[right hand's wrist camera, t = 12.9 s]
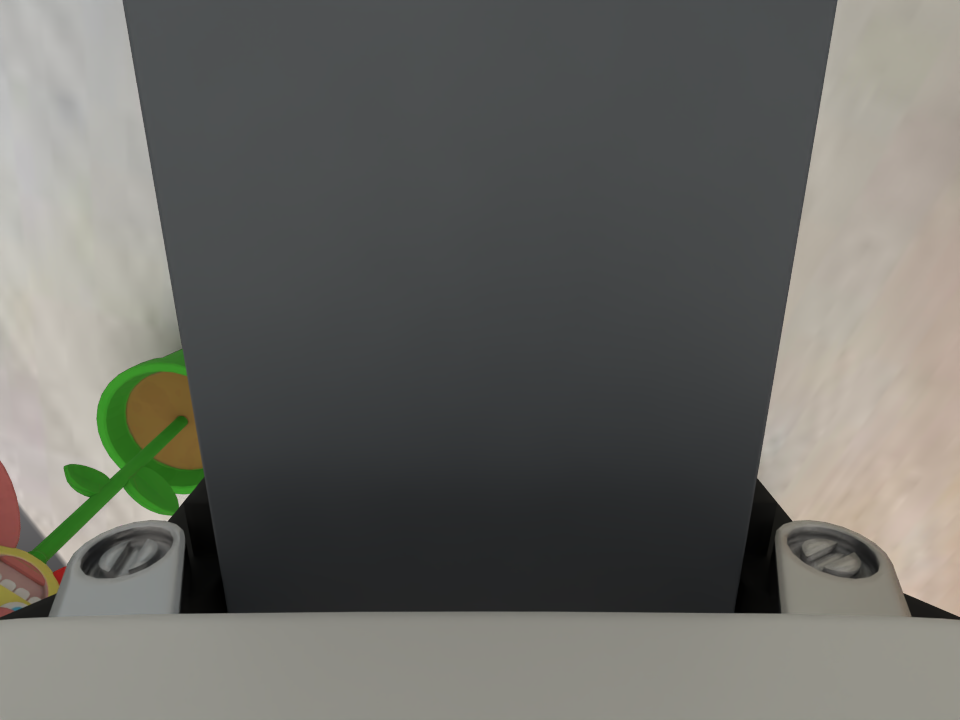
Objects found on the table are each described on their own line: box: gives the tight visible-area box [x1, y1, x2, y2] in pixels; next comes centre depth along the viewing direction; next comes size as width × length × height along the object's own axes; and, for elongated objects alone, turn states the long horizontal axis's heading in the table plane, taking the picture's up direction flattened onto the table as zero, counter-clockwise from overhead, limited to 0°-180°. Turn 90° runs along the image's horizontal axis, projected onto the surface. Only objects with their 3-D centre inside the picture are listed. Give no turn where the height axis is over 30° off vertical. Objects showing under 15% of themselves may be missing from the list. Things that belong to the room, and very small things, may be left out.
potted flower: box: [0, 349, 204, 617], centre depth 27 cm, size 9×8×25 cm
